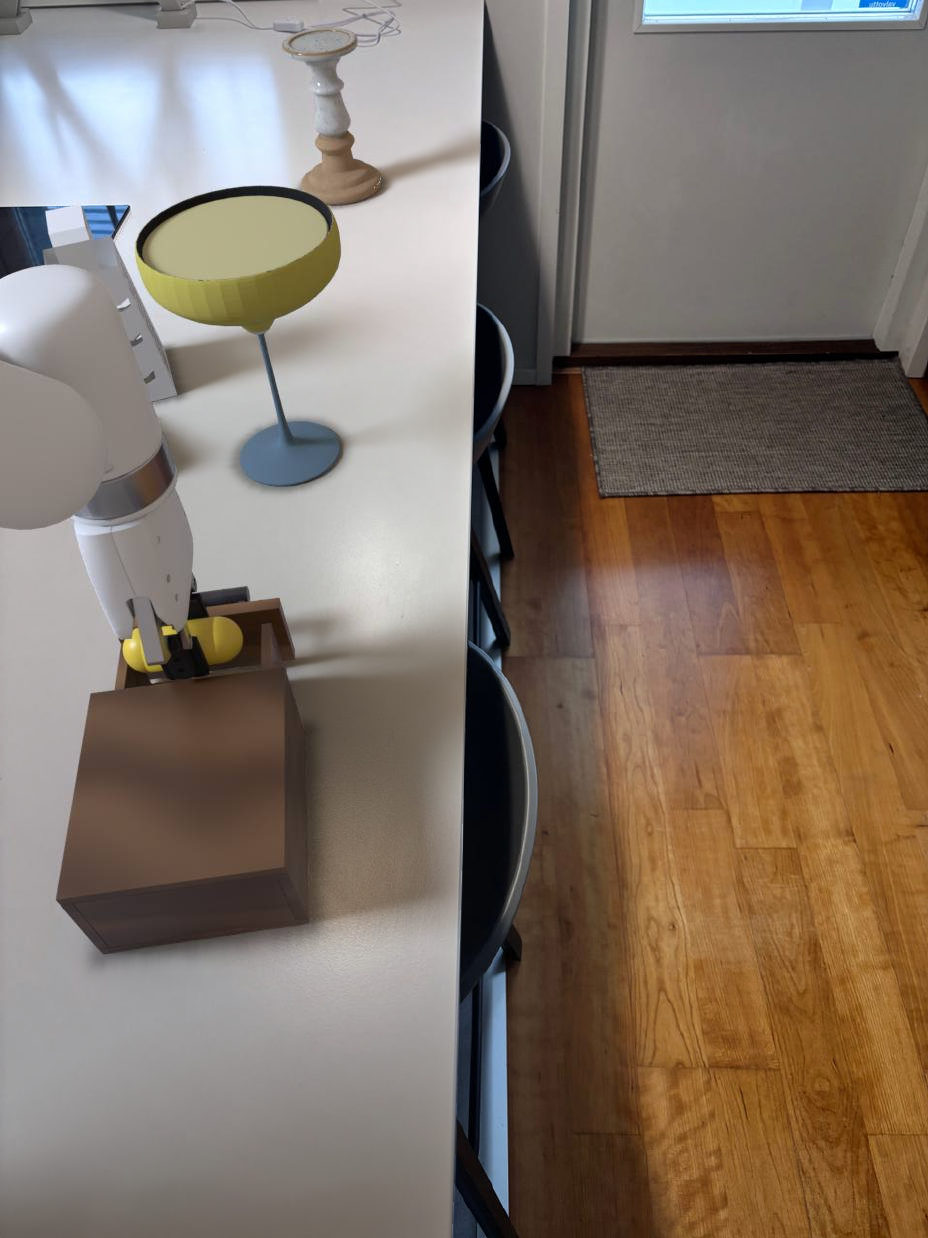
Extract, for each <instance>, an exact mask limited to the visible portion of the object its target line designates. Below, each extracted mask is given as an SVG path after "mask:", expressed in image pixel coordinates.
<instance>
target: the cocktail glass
mask: <svg viewBox="0 0 928 1238" xmlns="http://www.w3.org/2000/svg"><path fill="white" fill-rule="evenodd" d="M341 242H342V241H341V234H340V229H339V226H338V222H337V219H336V217H335V215H334V212H333V211H332V209H331V208H330V206H329V205H327V204H326V203H325V202H324V201H322V200H321V199H319V198H318V197H316V196H314V195H312V194H309V193H307V192H304V191H301V189H298V188H292V187H287V186H280V185H243V186H234V187H229V188H228V187H227V188H222V189H217V190H212V191H209V192H205V193H202V194H198V195H194V196H192V197H189V198H186V199H183V200H181V201H179V202H177V203H174V204H173V205H171V206H169V207H167V208H165V209H163V210H162V211H160V212H159V213H157V214H156V215H155V216H154V217H152V218H150V220H149V221H147V222H146V224H145V225H143V226H142V228H141V230H140V231H139V232H138V235H137V237H136V240H135V244H134V259H135V262H136V263H135V264H136V267H137V269H138V273H139V276H140V279H141V281H142V284H143V286H144V288H145V290H146V291H147V292H148V294H149V295H150V297H151V298H152V300H154V302H156V304H158V305H159V306H161V307H162V308H163V309H165V310H166V311H168V312H170V313H171V314H174V315H176V316H178V317H180V318H183V319H186V320H188V321H191V322H194V323H198V324H203V325H208V326H217V327H241V328H243V329H244V330H245V331H247V332H248V333H250V334H252V335H257V338H258V341H259V347H260V350H261V355H262V358H263V362H264V366H265V370H266V373H267V378H268V383H269V387H270V392H271V395H272V399H273V403H274V408H275V413H276V418H277V424H273V425H270V426H268V427H266V428H264V429H262V430H260V431H259V432H257V433H255V434H254V435H253V436H252V437H251V438H249V439H248V440H247V441H246V442H245V444H244V445H243V446H242V448H241V452H240V454H239V465H240V467H241V469H242V471H243V472H244V474H245V475H246V476H247V477H248V478H249V479H251V480H252V481H254V482H257V483H259V484H262V485H266V486H271V487H272V486H273V487H290V486H295V485H296V486H297V485H300V484H304V483H308V482H310V481H312V480H315V479H317V478H319V477H320V476H322V475H323V474H325V473H326V472H327V471H329V470H330V469H331V468H332V466H333V465H334V464H335V463H336V462H337V460H338V457H339V455H340V451H341V446H340V445H341V444H340V440H339V438H338V436H337V435H336V433H334V431H332V430H331V429H330V428H328V427H327V426H325V425H322V424H320V423H317V422H313V421H303V420H295V421H294V420H293V421H287V419H286V415H285V412H284V409H283V405H282V401H281V397H280V394H279V393H280V392H279V390H278V385H277V381H276V378H275V373H274V369H273V366H272V361H271V357H270V353H269V349H268V345H267V341H266V336H265V333H267V332H268V331H269V330H271V327H272V326H273V324H274V321H275V320H277V319H279V318H283V317H285V316H287V315H289V314H292V313H293V312H296V311H297V310H299V309H301V308H302V307H304V306H306V305H307V304H309V303H311V302H312V301H313V300H314V299H315V298H317V296H319V295H320V294H321V293H322V292H323V291H324V290H325V289H326V287H327V286H328V285H329V283H331V281H332V280H333V279H334V277H335V275H336V273H337V272H338V269H339V266H340V261H341V257H342V243H341Z"/></svg>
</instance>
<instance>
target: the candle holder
mask: <svg viewBox="0 0 928 1238" xmlns="http://www.w3.org/2000/svg"><path fill="white" fill-rule="evenodd" d="M358 45H359V39H358V36H357V35H356V33H355V32H353V31H352V30H350V29H346V28H340V27H318V28H311V29H306V30H302V31H299V32H297V33H296V32H295V33H293V34H291V35H290V36H288V37H287V38H285V39H284V40H283V42H282V44H281V49H282V52H283V55H284V56H286V57H287V58H289V59H290V60H295V61H299V62H303V63H304V64H305V65H306V67H308V68H309V69H310V71H311V74H312V79H311V81H310V82H309V84H308V90H309V92H310V93H311V94H313V96H314V107H313V118H312V125H313V126H312V127H313V128H314V130H315V132H317V133H318V135H317V137H316V138H315V140H314V144H315V147H316V148H317V149H318V150H319V151H320V153H321V162H319V163H318V164H316V165H314V167H312V168H311V170H309V171H308V172H307V173H305V174H304V175H303V177H302V178H301V181H300V190H301V191H304V192H307V193H309V194H312V195H314V196H316V197H318V198H319V199H321V200H322V201H324V202H325V203H326V204H327V205H328V206H340V205H349V204H353V203H358V202H360V201H363V200H365V199H368V198H370V197H372V196H373V195H375V194H376V193H377V192H378V191H379V189H380V188H381V186H382V179H381V180H380V177H381V178H382V176H381V173H380V171H379V170H378V168H376V167H375V166H373V165H371V164H369V163H366V162H365V161H363V160H361V159H357V158H354V155H353V152H352V147H353V145H354V144H355V142H356V141H355V140H356V138H355V136H354V134H353V133H351V132H350V130H349V129H350V127H351V124H352V119H351V116H350V113H349V112H348V109H347V106H346V104H345V101H344V99H343V95H342V91H343V90H344V87H345V82H344V80H343V79H342V78H340V77H339V75H338V73H337V69H338V68H337V67H338V64H339V63H340V61H341V59H342V57H345V56H347V55H349V54H351V53H352V52H354V51H355V50H356V49H357V48H358ZM379 181H380V183H379ZM378 183H379V184H378ZM377 184H378V185H377ZM301 187H302V189H301ZM374 187H375V188H374Z"/></svg>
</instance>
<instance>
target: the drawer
mask: <svg viewBox="0 0 928 1238" xmlns="http://www.w3.org/2000/svg"><path fill="white" fill-rule="evenodd" d="M197 593H200V594H201V596H202V599H203V601H204V604H205V607H206V609H207V612H208V614H209V617H226V618H229V619H231V620H232V621H234V622H235V623H236V624H237V625H238V626H239V628H240V629H241V632H242V635H243V645H242V648H241V650H240V652H239V653H238V655H237V656H236V657H235V658H233V659H232V660H230V661H228V662H225V663H220V664H212V665H209V667H210V672H209V673H211V672H218V671H225V670H234V669H241V668H249V667H256V666H260V668H256V669H249V670H241V671H234V672H227V673H220V674H212V675H207V676H202V677H195V678H189V679H180V680H167V681H161V682H160V681H159V682H153V683H152V681H151V680H160V679H167V678H166V675H165V673H164V671H158V672H150V673H144V672H140V671H137V670H135V669H133V668H132V667H131V666H130V665H129V664H128V663H127V662H126V660H125V658H124V655H123V644H124V640H125V639H124V640H121V639H119V638H118V637H117V640H118V641H119V643H120V649H119V656H118V662H117V669H116V677H115V683H114V689H113V690H119V689H126V688H133V687H141V686H148V685H155V684H163V683H170V682H178V681H185V680H192V679H200V678H207V677H215V676H222V675H229V674H237V673H244V672H251V671H259V670H266V669H274V668H281V667H285V670H286V673H287V672H288V671H287V668H286V665H285V662H292V661H296V648H295V645H294V641H293V637H292V635H291V632H290V628H289V625H288V621H287V619H286V615H285V611H284V608H283V604H282V601H281V598H280V597H273V598H265V599H258V600H251V592H250V589H249V587H248V586H247V585H244V586H236V587H228V588H222V589H213V590H206V591H197V592H194V593H192V594H197ZM136 628H138V625H137V621H136V617H135V619H134V627H133V630H134V629H136ZM287 674H288V673H287Z"/></svg>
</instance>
